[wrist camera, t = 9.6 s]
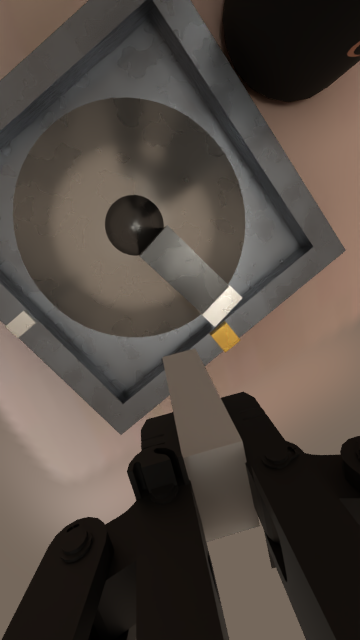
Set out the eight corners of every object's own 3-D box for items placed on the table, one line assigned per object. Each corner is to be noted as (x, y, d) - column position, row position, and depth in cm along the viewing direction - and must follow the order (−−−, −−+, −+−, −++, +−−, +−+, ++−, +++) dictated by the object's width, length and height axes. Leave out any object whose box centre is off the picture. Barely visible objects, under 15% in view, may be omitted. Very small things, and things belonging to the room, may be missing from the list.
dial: (-31, 232, 23) (-90, 227, 17) (124, 47, 22) (119, -29, 16) (143, 371, 28) (145, 408, 22) (281, 224, 26) (325, 218, 20)
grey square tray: (150, -9, 23) (154, -68, 19) (318, 249, 30) (350, 250, 25) (-88, 205, 25) (-137, 196, 20) (122, 411, 31) (120, 439, 26)
